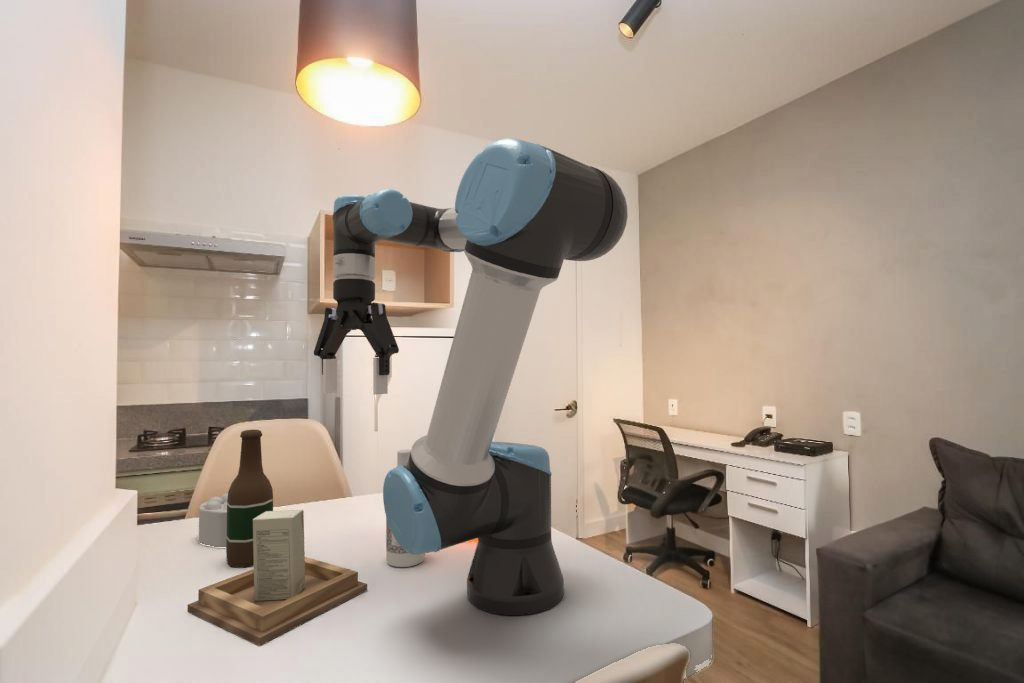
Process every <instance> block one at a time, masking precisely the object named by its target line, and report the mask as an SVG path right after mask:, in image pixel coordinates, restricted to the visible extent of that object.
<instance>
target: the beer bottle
mask: <svg viewBox="0 0 1024 683" xmlns="http://www.w3.org/2000/svg"><path fill="white" fill-rule="evenodd" d="M262 436H263V432H262V430H260V429H246V430H243V431H241V432H240V435H239V437H240V438H241V444H240V445H241V447H240V455H239V456H240V457H239V467H238V472H237V475H236V477H235V478H234V480H232V482H231V484H230V486H229V488H228V491H227V493H228V498H227V539H226V548H225V550H226V553H225V554H226V562H227V563H228V565H229V567H230V568H248V567H254V558H253V519H254V518H256V517H257V516H259V515H261V514H262V513H264V512H266V511H274V490H273V486H272V484H271V481H270V479H269V478H268V477H267V475H266V473H264V467H263V458H262V455H263V454H262V440H261V437H262Z"/></svg>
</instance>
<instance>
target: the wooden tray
mask: <svg viewBox="0 0 1024 683" xmlns="http://www.w3.org/2000/svg"><path fill="white" fill-rule="evenodd" d="M366 590H367V591H368V583H366V582H362V581H360V580H359V571H357V570H356V571H355V570H352V569H349V568H345V567H341V566H339V565H335V564H332V563H328V562H324V561H322V560H318V559H315V558H311V557H308V556H305V587H304V589H303V590H302V591H301V592H300V593H299V594H298V595H296V596H294V597H292V598H289V599H282V600H263V601H254V568H252V569H249V570H247V571H244V572H242V573H239V574H236V575H234V576H231V577H228V578H226V579H223V580H221V581H218V582H215V583H213V584H210V585H206V586H205V587H202V588H201V587H200V588H199V589H198V594H197V595H198V598H197V599H198V600H196V601H193V602H191V603H188V604H187V612H188V613H189V614H191V613H192V615H193V616H195V617H198V618H200V619H202V620H205V621H206V620H207V622H208V621H209V622H208V623H210V622H211V623H210V624H212V625H215V626H217V627H219V628H221V629H223V630H226V631H228V632H230V633H232V634H234V635H236V636H239V637H240V638H242V639H245V640H246V641H249V642H250V643H252V644H255V645H257V646H259V647H260V646H262V645H264V644H266V643H269V641H272V640H274V639H275V638H278V637H280V636H281V635H284V634H285V633H287V632H290V631H292V630H293V629H295V628H297V627H299V626H301V625H303V624H305V623H306V622H307V623H308V622H309V621H310V620H313V619H314V618H316V617H319V616H320V615H323V614H324V613H326V612H328V611H330V610H332V609H334V608H335V607H338V606H339V604H340V605H342V604H343V603H345V602H347V601H349V600H352V599H353V598H355V597H357V596H359V595H361V594H363V593H365V592H366ZM364 591H365V592H364ZM360 593H361V594H360ZM341 603H342V604H341Z"/></svg>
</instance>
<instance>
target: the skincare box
mask: <svg viewBox="0 0 1024 683" xmlns="http://www.w3.org/2000/svg"><path fill="white" fill-rule="evenodd" d="M304 513H305V512H304V509H289V510H286V509H285V510H273V511H266V512H264V513H262V514H261V515H259V516H257V517H256V518H254V519H253V558H254V565H253V569H254V601H263V600H282V599H289V598H292V597H294V596H296V595H298V594H299V593H300V592H301V591H302V590H303V589H304V587H305V557H306V555H305V518H304V517H305V516H304V515H305V514H304Z"/></svg>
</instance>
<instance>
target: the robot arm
mask: <svg viewBox="0 0 1024 683" xmlns="http://www.w3.org/2000/svg"><path fill="white" fill-rule="evenodd" d="M454 200H455V201H454V207H449V208H447V207H446V208H437V207H433V206H429V205H425V204H420V203H417V202H416V203H415V202H411V201H409V199H408V198H407V197H406V196H405V195H403V194H402V193H401V192H400V191H399V190H396V189H392V188H383V189H381V190H379V191H376V192H372V193H370V194H368V195H367V196H364V195H360V194H345V195H340V196H337V197H336V198H335V200H334V202H333V211H332V221H333V222H332V223H333V224H332V227H333V229H332V230H333V231H332V232H333V233H332V234H333V238H332V239H333V242H332V243H333V249H332V250H333V275H332V276H333V277H334V279H335V280H334V281H333V282H332V283H333V284H332V288H333V289H332V293H333V294H332V297H333V300H334V301H336V303H337V306H336V308H334V307H333V308H332V307H326V308H325V309H324V319H323V323H322V324H321V329H320V331H319V334H318V338H317V341H316V343H315V347H314V350H313V356H317V357H319V358H320V359H321V374H322V394H334V393H335V394H336V393H338V358H337V356H336V354H337V353H338V351H339V350H340V347H341V346H342V343H343V341H344V340H345V338H346V336H347V335H348V333H351V331H357V330H360V331H361V332H362V334H363V335H364V337H365V338H366V340H367V342H368V344H369V345H370V346H371V348H372V349H373V351H374V353H375V354H374V357H373V359H372V360H373V361H372V367H373V368H372V369H373V371H372V372H373V374H372V376H373V379H372V380H373V383H372V385H373V386H372V388H373V389H372V391H373V394H372V395H387V394H389V393H388V392H389V391H388V388H389V386H388V376H389V375H390V369H391V368H390V363H391V361H390V358H391V357H392V356H393V355H395V354H398V353H399V351H400V349H399V346H398V342H397V340H396V338H395V335H394V332H393V330H392V328H391V325H390V322H389V320H388V316H387V311H386V308H387V307H386V304H385V303H379V302H374V301H376V300H375V299H376V283H375V282H374V281H373V280H375V279H376V244H377V243H379V242H382V241H387V242H393V243H399V244H403V245H408V246H409V245H411V246H418V247H423V248H428V249H434V250H439V251H443V252H446V253H449V252H450V253H462V252H464V255H465V256H466V258H467V260H468V262H469V264H470V265H471V273H470V278H469V280H468V285H467V288H466V290H465V291H466V292H465V295H464V299H463V303H462V305H461V310H460V314H459V317H458V321H457V323H456V327H455V331H454V335H453V339H452V343H451V347H450V350H449V353H448V358H447V361H446V365H445V368H444V370H443V371H444V372H443V376H442V378H441V382H440V387H439V390H438V393H437V396H436V397H437V398H436V401H435V404H434V408H433V412H432V415H431V419H430V423H429V425H428V426H429V427H428V430H427V433H426V435H423V436H421V437H419V438H418V439H417V440H415V441H414V442H413V445H412V446H411V449H410V450H411V452H410V456H409V460H408V463H407V465H406V466H397V465H396V467H393V468H392V469H390V470H389V471H388V472H387V473H386V475H385V478H384V481H383V485H382V486H383V487H382V489H383V490H382V496H383V498H382V499H383V507H384V514H385V518H386V517H387V521H388V524H389V527H390V529H391V532H392V534H393V536H394V538H395V539H396V541H397V542H398V544H399V545H400V546H401V547H402V548H403V549H404V550H405V551H406V552H408V553H410V554H415V555H420V554H425V555H426V554H429V553H437V552H440V551H442V550H444V549H447V548H450V547H454V546H457V545H459V544H463V543H466V542H471V541H470V540H473V539H476V538H478V542H477V543H476V544H477V545H476V547H475V551H474V554H473V556H472V557H473V558H472V561H471V563H470V564H471V565H470V568H469V571H468V574H467V578H466V596H467V599H468V600H469V602H470V603H471V604H472V605H473V606H474V607H476V608H478V609H480V610H482V611H485V612H488V613H491V614H495V615H505V616H525V615H532V614H537V613H541V612H543V611H544V612H545V611H546V610H549V609H551V608H553V607H554V606H556V605H557V604H559V603H560V601H562V599H563V597H564V596H565V595H564V594H565V592H564V590H565V589H564V588H565V586H564V585H565V584H564V576H563V572H562V569H561V566H560V563H559V560H558V556H557V555H556V551H555V548H554V545H553V542H552V471H551V464H550V455H549V453H548V451H547V450H546V449H545V448H544V447H542V446H537V445H534V444H526V443H525V444H524V443H516V442H505V441H494V437H495V434H496V430H497V427H498V423H499V422H500V418H501V416H502V415H501V414H502V411H503V408H504V407H505V402H506V399H507V396H508V393H509V389H510V386H511V383H512V380H513V378H514V377H513V376H514V375H515V371H516V368H517V365H518V362H519V359H520V355H521V352H522V350H523V346H524V343H525V340H526V337H527V334H528V330H529V328H530V325H531V321H532V318H533V315H534V312H535V309H536V306H537V303H538V299H539V296H540V294H541V291H542V289H544V288H545V287H547V286H548V285H551V284H552V283H554V282H556V281H557V280H558V278H559V276H560V273H561V269H562V268H563V267H562V266H563V263H564V261H573V262H575V261H576V262H587V261H592V260H596V259H599V258H601V257H603V256H605V255H606V254H608V253H609V252H610V251H612V250H613V249H614V248H615V247H616V245H617V244H618V243H619V242H620V240H621V238H622V237H623V235H624V233H625V229H626V226H627V223H628V216H629V214H628V204H627V198H626V196H625V194H624V192H623V190H622V188H621V186H620V185H619V184H618V182H617V181H616V180H615V179H614V178H613V177H612V176H611V175H609V174H608V173H606V172H605V171H604V170H601V169H599V168H596V167H594V166H592V165H588V164H585V163H583V162H580V161H578V160H576V159H574V158H571V157H569V156H567V155H565V154H562V153H560V152H558V151H555V150H553V149H551V148H549V147H547V146H545V145H540V143H533V142H530V141H526V140H523V139H517V138H514V137H513V138H512V137H508V138H501V139H499V140H498V139H497V140H496V141H494V142H492V143H490V144H488V145H486V146H485V147H484V149H483V150H482V151H481V152H478V154H476V155H475V157H474V158H473V159H472V161H471V162H470V163H469V165H468V166H467V168H466V169H465V171H464V173H463V175H462V178H461V179H460V182H459V185H458V188H457V192H456V196H455V199H454Z"/></svg>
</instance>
